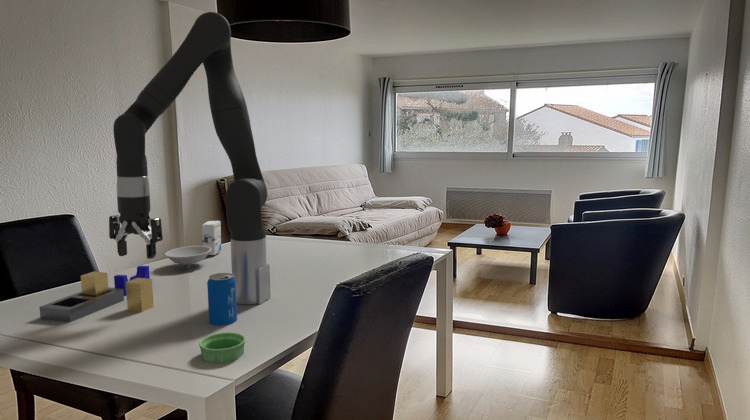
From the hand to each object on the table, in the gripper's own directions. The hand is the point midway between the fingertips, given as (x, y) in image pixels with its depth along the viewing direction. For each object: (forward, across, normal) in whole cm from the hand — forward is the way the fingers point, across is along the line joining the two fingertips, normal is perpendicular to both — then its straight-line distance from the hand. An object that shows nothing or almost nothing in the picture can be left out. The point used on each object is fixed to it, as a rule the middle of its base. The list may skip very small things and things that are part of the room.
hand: (136, 256), depth 135 cm
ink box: (+15, +19, -63) cm, 67 cm away
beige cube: (+14, +14, 0) cm, 19 cm away
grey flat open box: (+14, +14, +4) cm, 20 cm away
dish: (+15, +16, -44) cm, 49 cm away
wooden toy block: (+14, 0, 0) cm, 14 cm away
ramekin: (+14, -38, +21) cm, 45 cm away
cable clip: (+15, +15, -14) cm, 25 cm away
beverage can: (+14, -26, +3) cm, 30 cm away
